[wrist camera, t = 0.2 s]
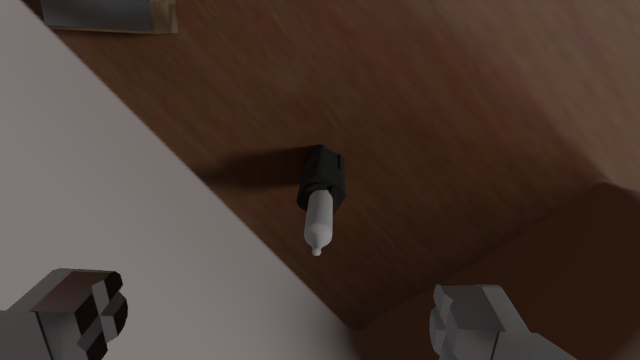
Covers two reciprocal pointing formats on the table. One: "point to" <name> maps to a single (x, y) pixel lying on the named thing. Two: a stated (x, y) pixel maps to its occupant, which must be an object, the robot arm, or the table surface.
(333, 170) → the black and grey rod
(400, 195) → the table surface
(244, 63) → the table surface
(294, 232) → the table surface
